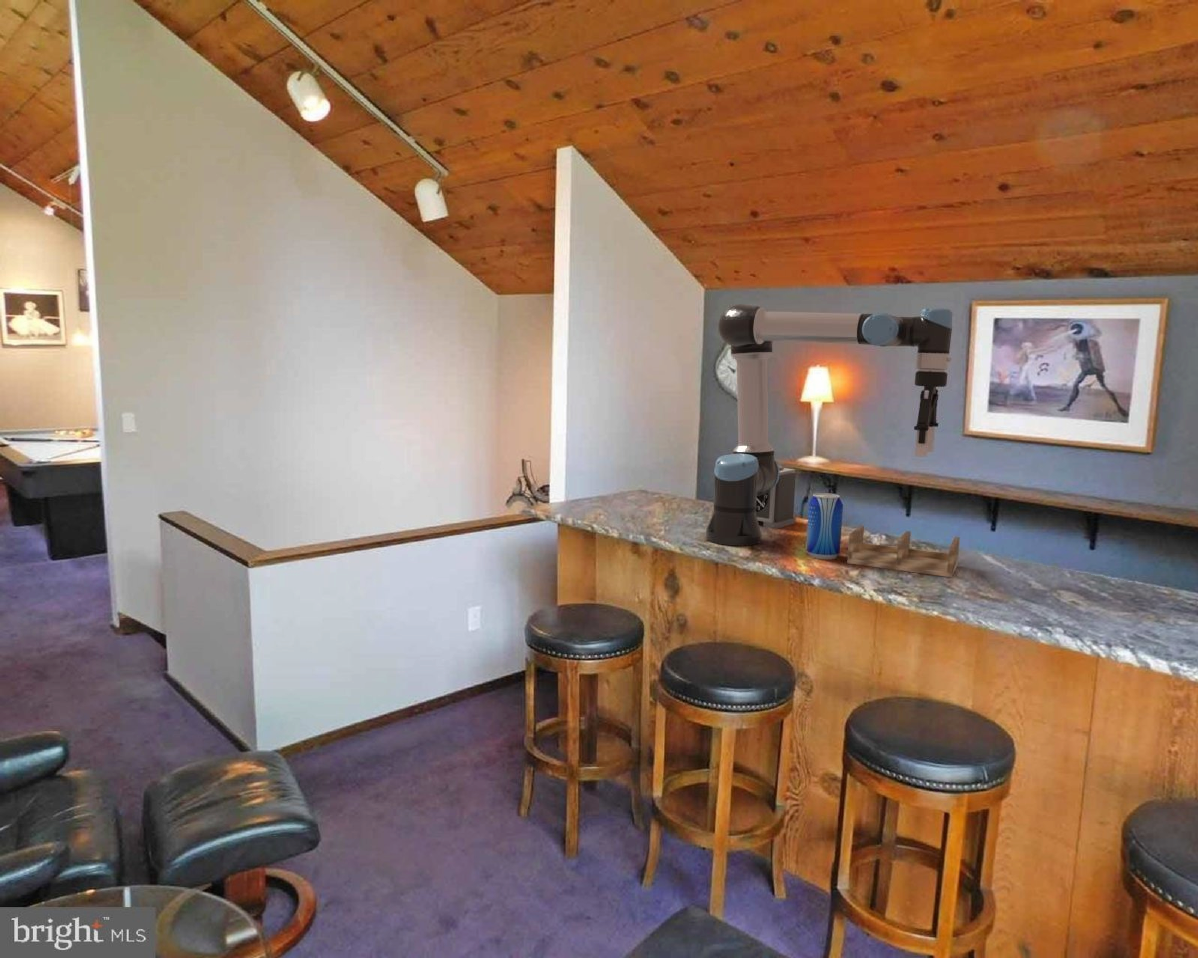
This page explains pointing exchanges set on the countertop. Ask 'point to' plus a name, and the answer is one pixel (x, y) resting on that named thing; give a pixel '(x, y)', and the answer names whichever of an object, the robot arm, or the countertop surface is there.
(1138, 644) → the countertop surface
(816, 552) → the beer can
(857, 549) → the rack
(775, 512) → the alarm clock
